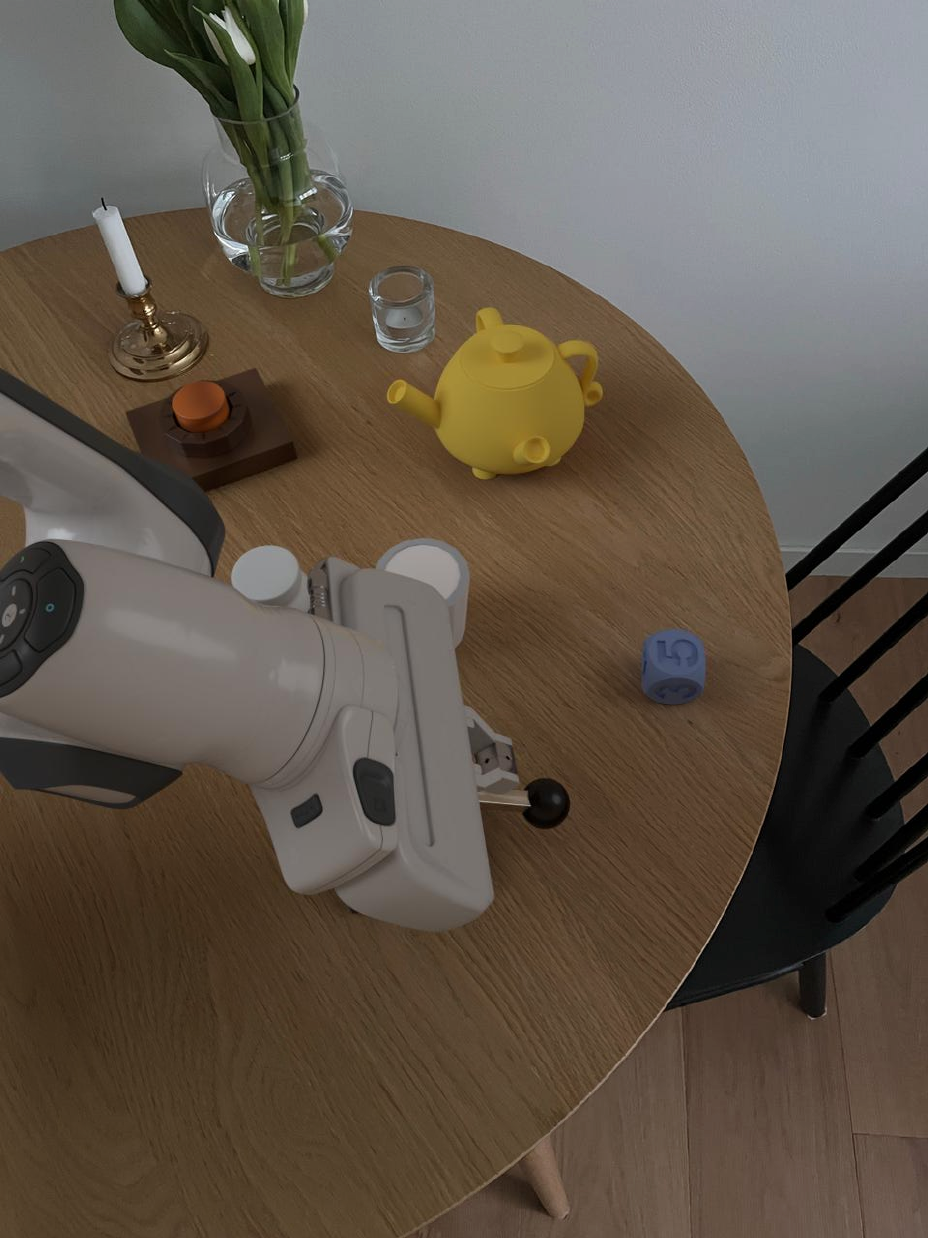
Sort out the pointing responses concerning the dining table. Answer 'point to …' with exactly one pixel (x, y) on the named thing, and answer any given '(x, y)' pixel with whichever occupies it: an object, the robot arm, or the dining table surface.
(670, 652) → the decorative dice
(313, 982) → the dining table surface
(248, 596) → the pill bottle
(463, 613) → the white faceted cylinder
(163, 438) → the button block
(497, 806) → the silver lever with knob
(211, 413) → the button
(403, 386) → the teapot
